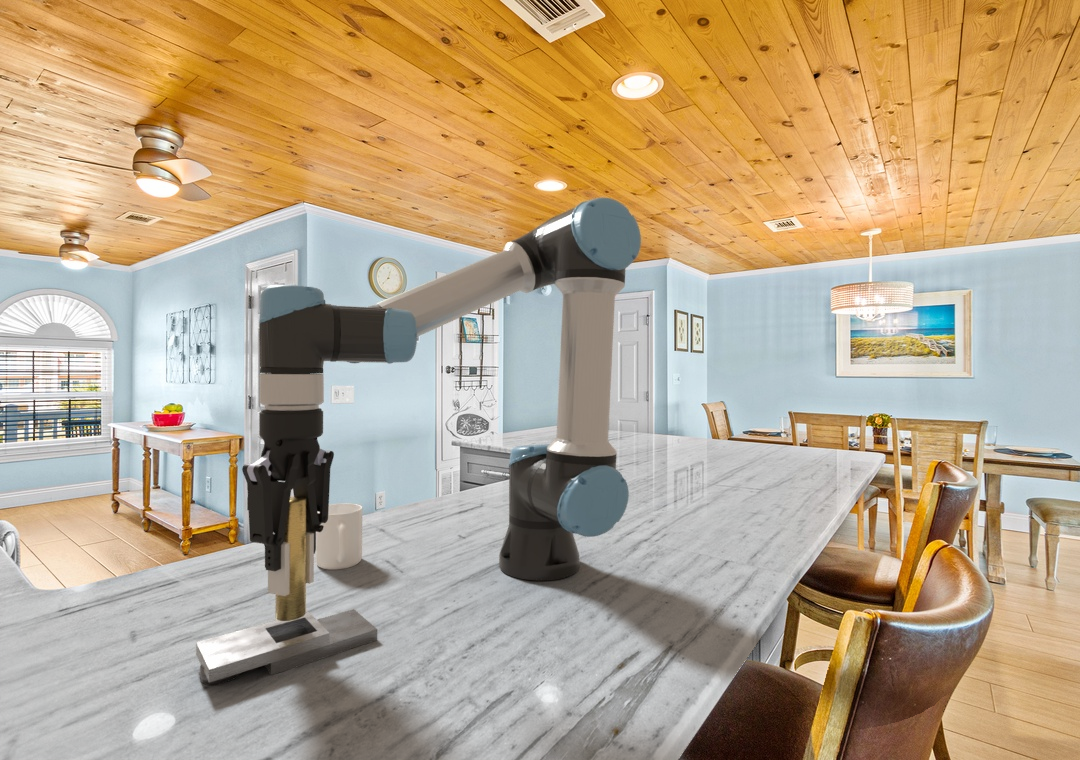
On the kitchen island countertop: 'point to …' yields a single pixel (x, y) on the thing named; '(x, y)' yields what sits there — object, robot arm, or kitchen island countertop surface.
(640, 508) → the kitchen island countertop surface
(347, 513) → the mug
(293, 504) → the pin
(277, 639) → the slotted metal plate
